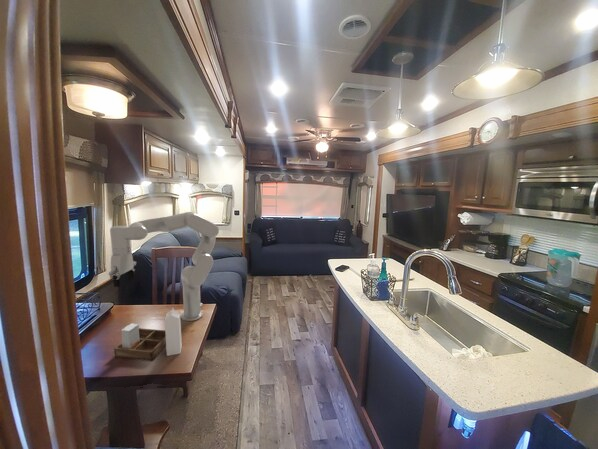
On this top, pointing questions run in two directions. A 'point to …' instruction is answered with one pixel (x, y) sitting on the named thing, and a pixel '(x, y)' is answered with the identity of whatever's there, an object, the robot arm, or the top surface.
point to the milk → (173, 332)
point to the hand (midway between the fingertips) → (124, 282)
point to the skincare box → (130, 336)
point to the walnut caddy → (144, 346)
